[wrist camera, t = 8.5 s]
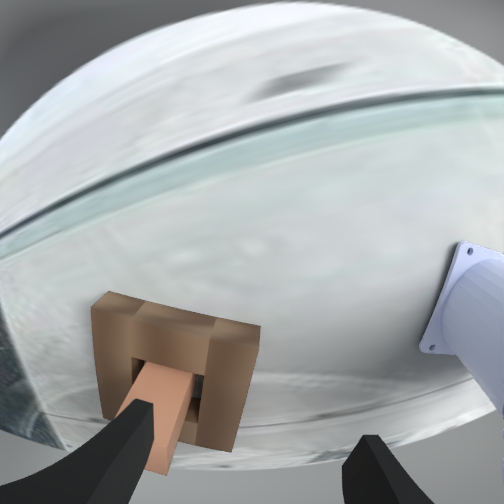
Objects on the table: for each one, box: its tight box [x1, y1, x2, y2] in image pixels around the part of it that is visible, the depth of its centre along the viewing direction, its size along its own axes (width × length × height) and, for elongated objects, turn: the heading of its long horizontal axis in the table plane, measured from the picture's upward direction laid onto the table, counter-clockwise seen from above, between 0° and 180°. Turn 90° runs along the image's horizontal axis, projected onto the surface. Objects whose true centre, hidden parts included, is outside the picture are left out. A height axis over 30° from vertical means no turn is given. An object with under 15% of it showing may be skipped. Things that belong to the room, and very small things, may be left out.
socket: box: [91, 291, 260, 452], centre depth 19 cm, size 10×10×2 cm
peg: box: [114, 361, 196, 476], centre depth 16 cm, size 3×3×8 cm
